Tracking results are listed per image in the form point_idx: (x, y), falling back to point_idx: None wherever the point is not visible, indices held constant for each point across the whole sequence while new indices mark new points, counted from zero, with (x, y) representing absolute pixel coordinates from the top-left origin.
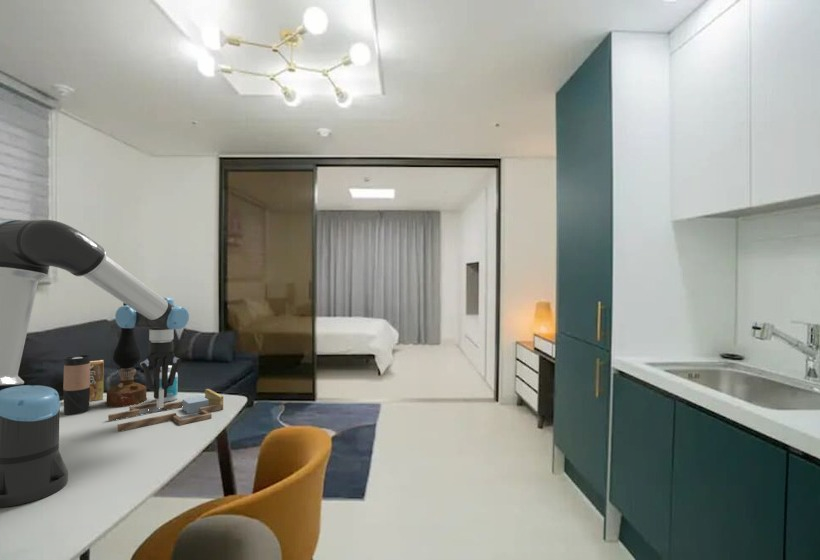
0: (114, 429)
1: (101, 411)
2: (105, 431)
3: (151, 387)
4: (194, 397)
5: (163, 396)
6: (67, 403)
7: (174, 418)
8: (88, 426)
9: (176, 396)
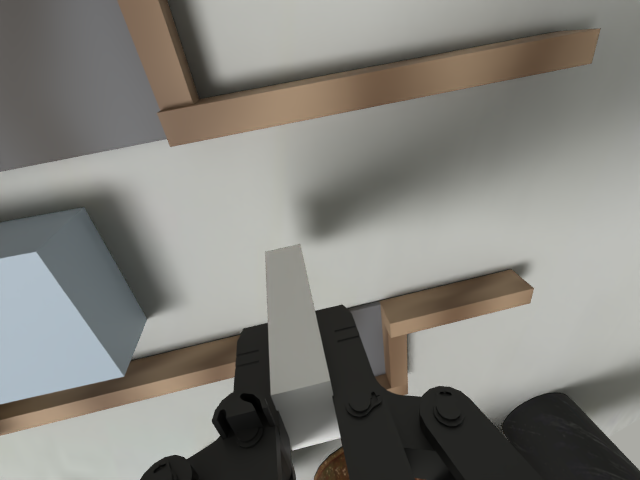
0: (551, 106)
1: (480, 398)
2: (596, 94)
3: (452, 405)
4: (28, 394)
5: (271, 320)
6: (608, 438)
7: (176, 46)
8: (597, 236)
9: None
